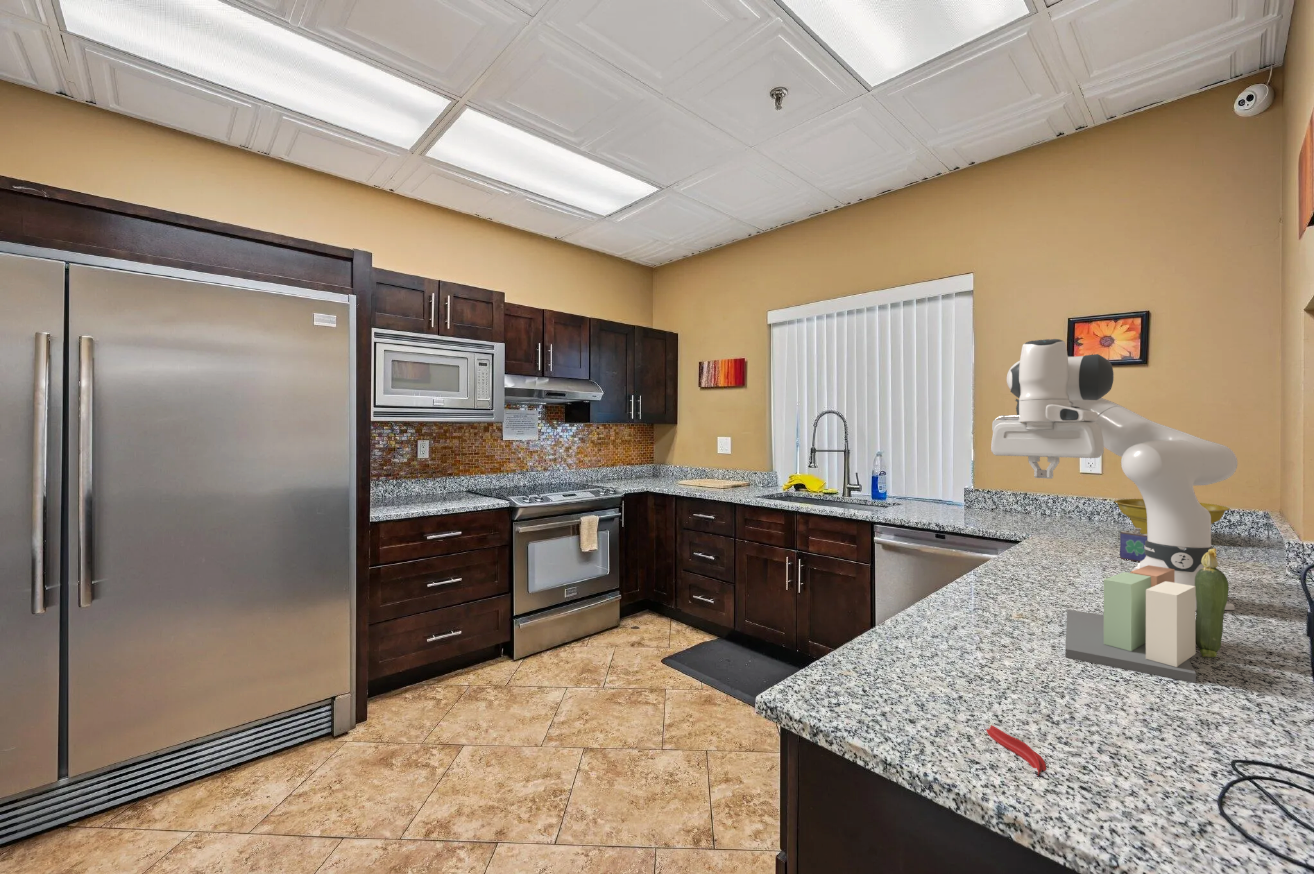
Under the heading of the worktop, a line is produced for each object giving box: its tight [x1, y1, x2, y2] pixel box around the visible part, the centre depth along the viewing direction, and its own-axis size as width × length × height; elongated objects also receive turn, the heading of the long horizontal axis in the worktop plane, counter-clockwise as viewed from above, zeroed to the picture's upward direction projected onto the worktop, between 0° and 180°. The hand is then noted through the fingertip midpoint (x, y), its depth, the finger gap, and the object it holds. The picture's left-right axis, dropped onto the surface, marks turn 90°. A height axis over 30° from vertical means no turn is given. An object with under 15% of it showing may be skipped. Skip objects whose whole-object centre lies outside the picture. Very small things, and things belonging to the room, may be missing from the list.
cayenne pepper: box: [985, 725, 1047, 777], centre depth 70 cm, size 12×5×2 cm, turn 166°
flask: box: [1119, 527, 1147, 563], centre depth 173 cm, size 9×3×11 cm, turn 25°
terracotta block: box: [1129, 565, 1175, 587], centre depth 107 cm, size 4×10×12 cm, turn 122°
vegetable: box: [1195, 547, 1230, 658], centre depth 99 cm, size 4×4×20 cm
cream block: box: [1146, 581, 1196, 667], centre depth 95 cm, size 4×10×12 cm, turn 122°
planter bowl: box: [1113, 498, 1230, 534], centre depth 210 cm, size 32×32×13 cm
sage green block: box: [1103, 571, 1151, 651], centre depth 102 cm, size 4×10×12 cm, turn 122°
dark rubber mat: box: [1064, 609, 1197, 684], centre depth 105 cm, size 28×17×2 cm, turn 142°
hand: (1043, 478), depth 117 cm, fingers closed
